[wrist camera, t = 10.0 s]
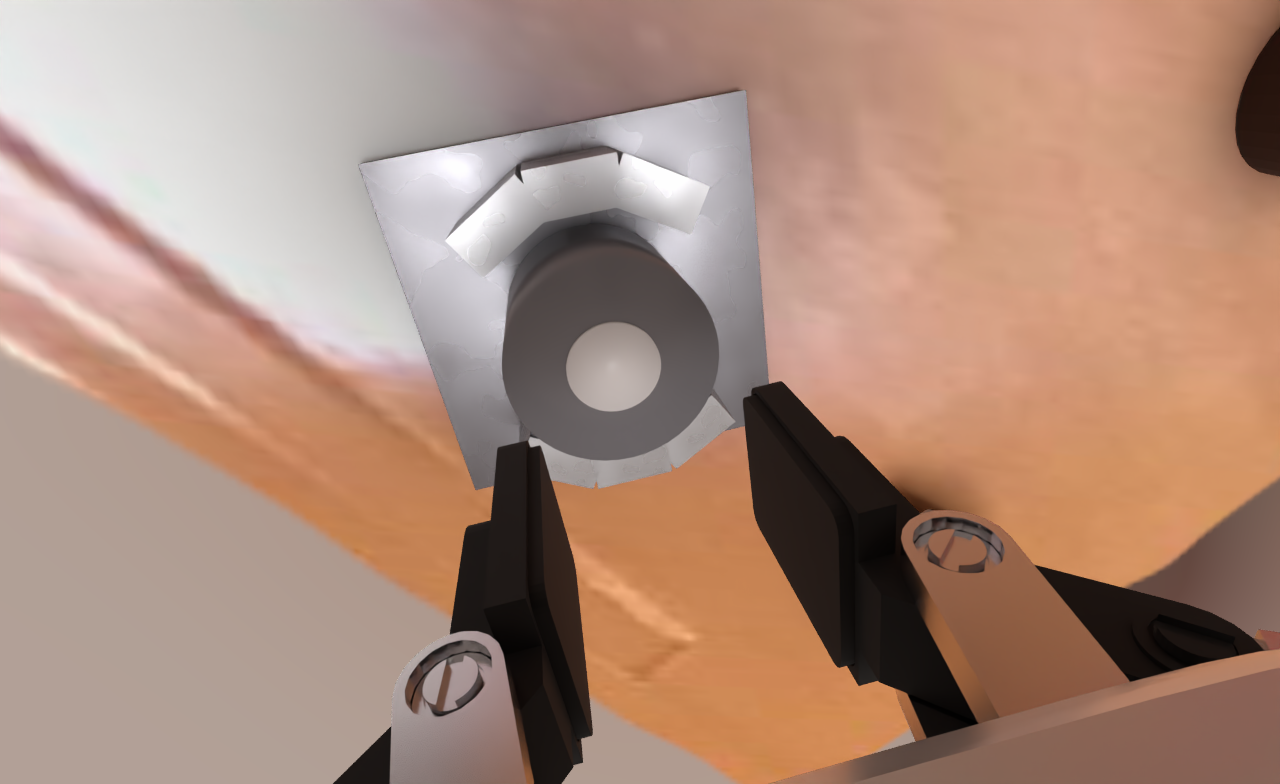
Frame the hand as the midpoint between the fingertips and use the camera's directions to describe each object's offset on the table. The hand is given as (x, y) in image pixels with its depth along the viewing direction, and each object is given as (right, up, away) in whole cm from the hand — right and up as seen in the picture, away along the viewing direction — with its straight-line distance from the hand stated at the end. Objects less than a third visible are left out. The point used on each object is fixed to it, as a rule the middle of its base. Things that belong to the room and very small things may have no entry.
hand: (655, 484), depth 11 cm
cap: (-2, +5, +10) cm, 11 cm away
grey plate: (-2, +5, +10) cm, 11 cm away
